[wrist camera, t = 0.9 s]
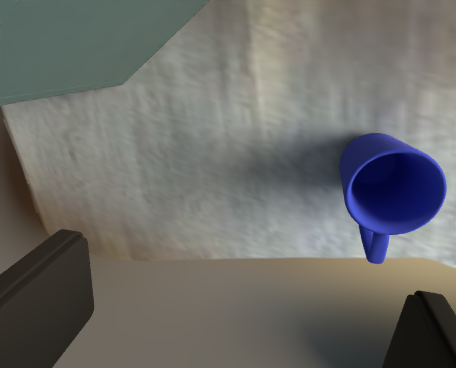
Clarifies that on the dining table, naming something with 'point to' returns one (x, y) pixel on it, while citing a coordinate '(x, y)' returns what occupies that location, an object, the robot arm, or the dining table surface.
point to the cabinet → (81, 42)
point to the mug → (389, 189)
